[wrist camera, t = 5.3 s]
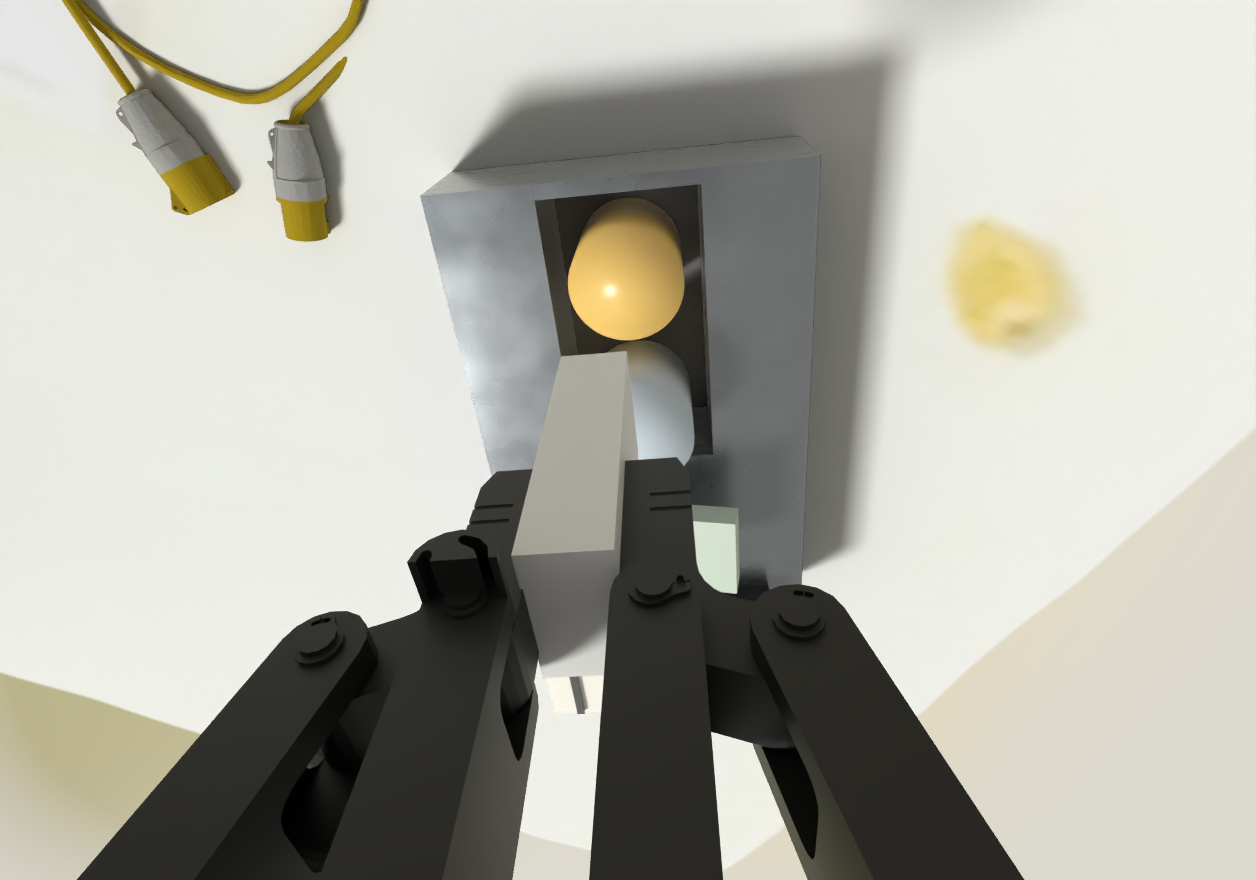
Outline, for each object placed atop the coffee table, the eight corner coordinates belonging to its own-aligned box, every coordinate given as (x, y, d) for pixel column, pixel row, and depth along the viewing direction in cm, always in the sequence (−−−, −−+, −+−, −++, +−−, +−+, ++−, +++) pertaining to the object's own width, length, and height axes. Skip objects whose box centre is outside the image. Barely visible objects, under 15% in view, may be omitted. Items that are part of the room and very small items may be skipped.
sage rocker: (568, 495, 28) (560, 511, 27) (738, 508, 26) (735, 524, 25) (580, 560, 30) (573, 576, 29) (739, 576, 28) (737, 593, 27)
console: (451, 171, 26) (409, 204, 21) (798, 135, 25) (828, 162, 20) (547, 590, 37) (532, 668, 33) (786, 579, 36) (803, 657, 32)
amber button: (573, 202, 26) (559, 233, 22) (677, 192, 26) (680, 221, 22) (587, 302, 28) (576, 344, 24) (683, 294, 28) (687, 335, 24)
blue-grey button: (585, 344, 27) (575, 394, 23) (687, 336, 27) (691, 386, 23) (598, 430, 29) (590, 488, 25) (692, 423, 29) (697, 482, 25)
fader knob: (552, 605, 30) (541, 667, 27) (606, 602, 30) (600, 665, 27) (563, 653, 32) (553, 717, 29) (614, 651, 32) (609, 715, 29)
